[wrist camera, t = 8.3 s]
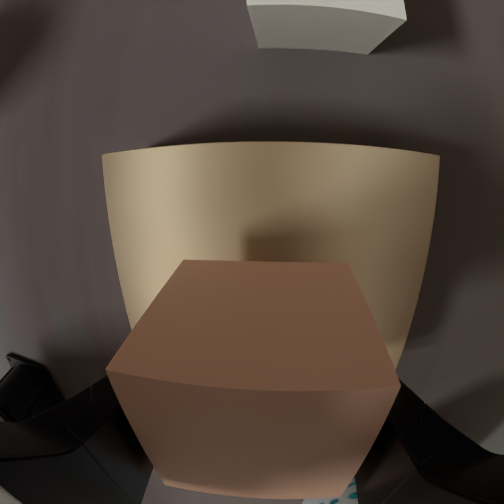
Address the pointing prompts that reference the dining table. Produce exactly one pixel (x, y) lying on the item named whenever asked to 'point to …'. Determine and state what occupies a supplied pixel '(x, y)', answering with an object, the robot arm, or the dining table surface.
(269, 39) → the grey cube
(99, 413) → the robot arm
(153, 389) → the terracotta cube
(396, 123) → the dining table surface
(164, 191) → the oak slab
